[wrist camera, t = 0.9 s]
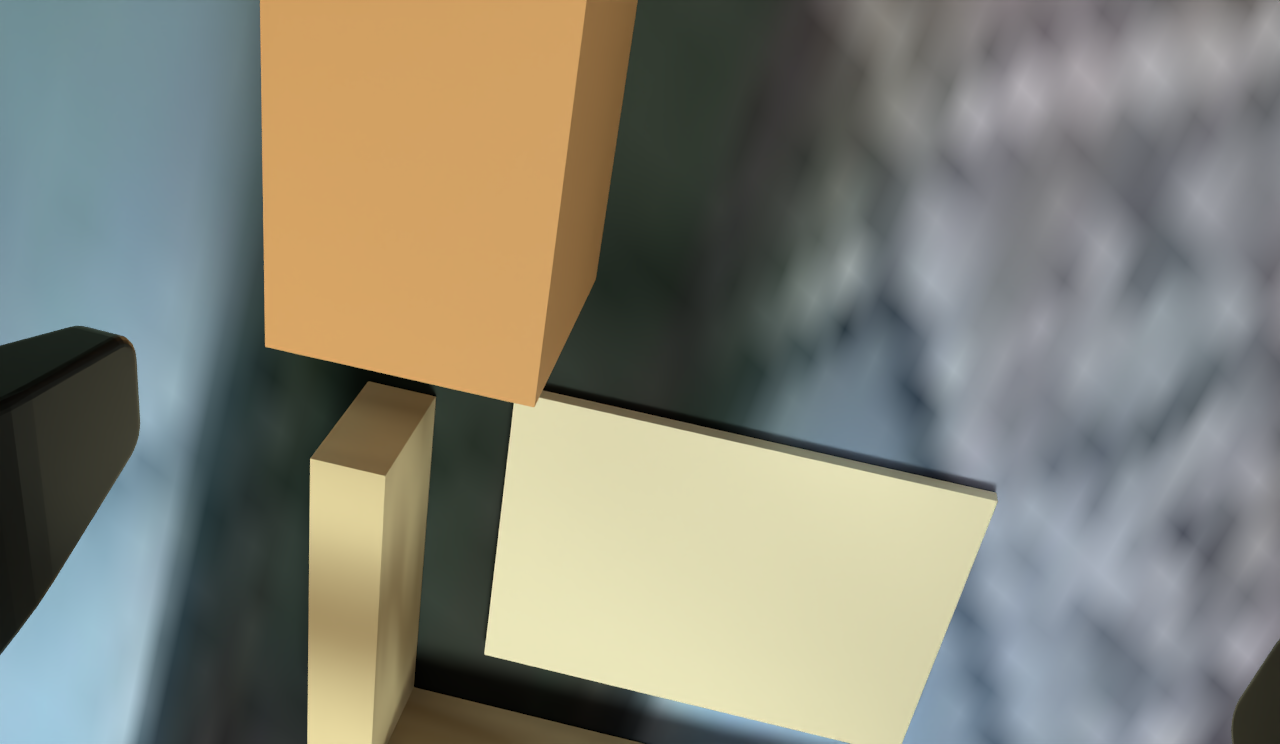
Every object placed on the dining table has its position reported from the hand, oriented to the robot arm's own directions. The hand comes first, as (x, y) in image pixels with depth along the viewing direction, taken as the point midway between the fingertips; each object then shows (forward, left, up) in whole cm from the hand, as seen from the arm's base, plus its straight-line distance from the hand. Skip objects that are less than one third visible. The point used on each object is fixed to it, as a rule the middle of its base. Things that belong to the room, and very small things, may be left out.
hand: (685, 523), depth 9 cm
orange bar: (-1, +5, -13) cm, 14 cm away
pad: (-11, -1, -13) cm, 17 cm away
